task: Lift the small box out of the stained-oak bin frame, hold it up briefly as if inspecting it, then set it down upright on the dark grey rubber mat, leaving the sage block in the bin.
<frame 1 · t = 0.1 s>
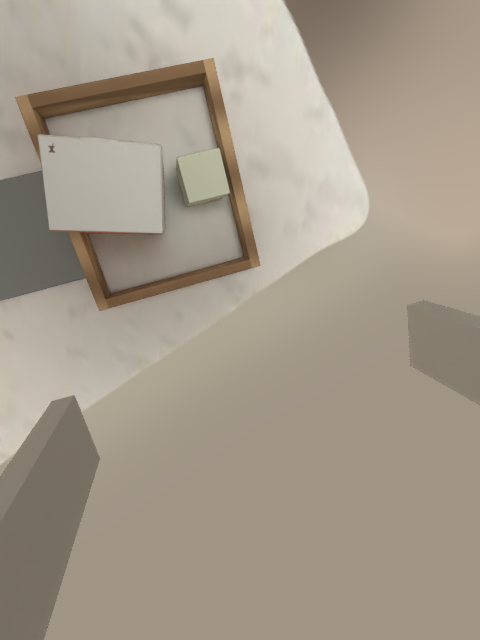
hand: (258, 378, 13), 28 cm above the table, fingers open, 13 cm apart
mat: (15, 239, 34), on the table
sage block: (199, 184, 36), resting in bin
small box: (127, 201, 36), resting in bin
bin: (154, 194, 36), on the table
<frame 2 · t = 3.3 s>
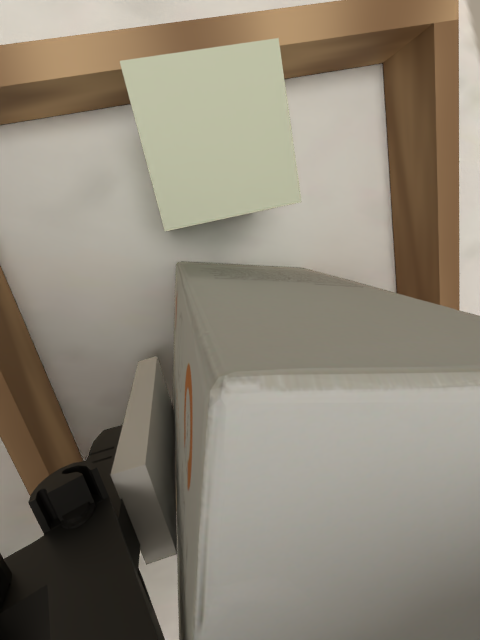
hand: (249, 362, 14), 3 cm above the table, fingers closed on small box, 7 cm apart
sage block: (200, 174, 14), resting in bin
small box: (237, 341, 17), resting in bin, touching gripper
bin: (225, 285, 16), on the table
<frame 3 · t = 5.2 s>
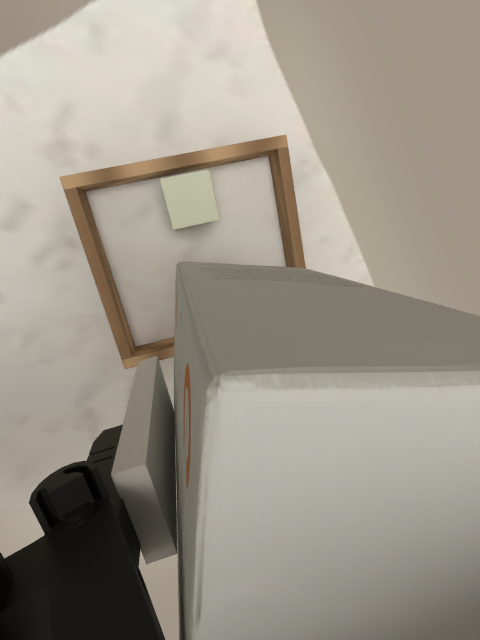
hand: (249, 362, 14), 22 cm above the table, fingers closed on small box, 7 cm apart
sage block: (187, 205, 33), resting in bin
small box: (237, 340, 17), point 19 cm above the table, touching gripper
bin: (199, 254, 34), on the table
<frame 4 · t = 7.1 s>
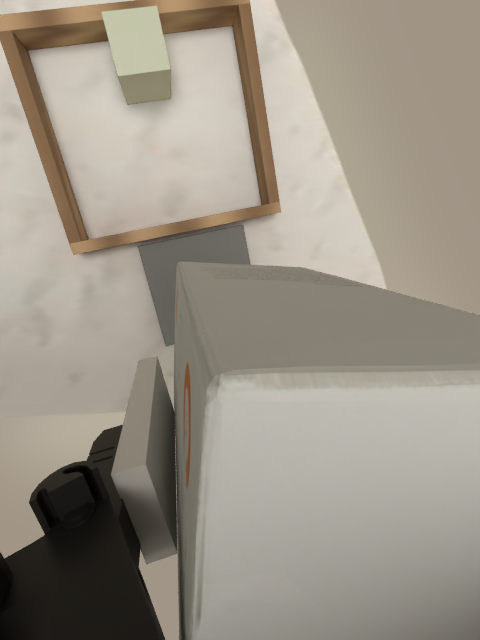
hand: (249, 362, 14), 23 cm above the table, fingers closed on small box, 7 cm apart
mat: (203, 286, 36), on the table
sage block: (143, 76, 30), resting in bin
small box: (237, 340, 17), point 20 cm above the table, touching gripper
bin: (157, 136, 32), on the table
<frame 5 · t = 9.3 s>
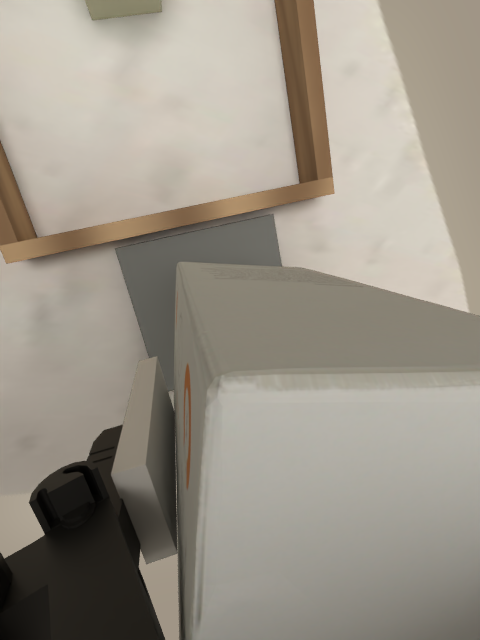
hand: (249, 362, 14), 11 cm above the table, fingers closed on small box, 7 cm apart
mat: (213, 305, 25), on the table
small box: (237, 340, 17), point 8 cm above the table, touching gripper
bin: (142, 75, 20), on the table
when the fingers open (5 cm above the table, at t = 11.0 s): small box drops 1 cm, resting on mat.
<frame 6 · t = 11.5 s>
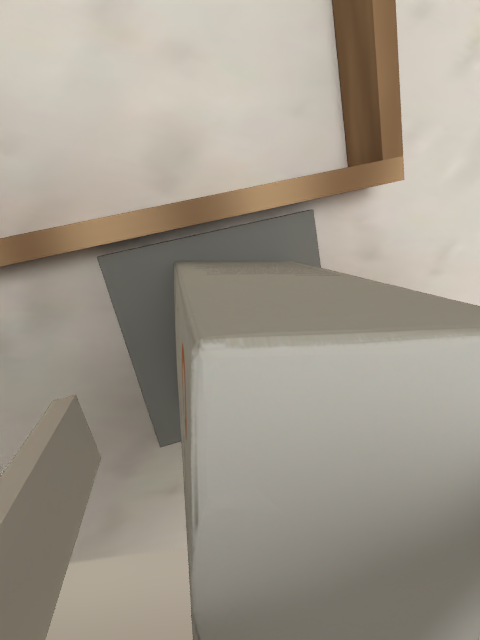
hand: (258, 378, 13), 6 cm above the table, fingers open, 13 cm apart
mat: (231, 331, 19), on the table
small box: (234, 332, 18), resting on mat
bin: (134, 9, 14), on the table
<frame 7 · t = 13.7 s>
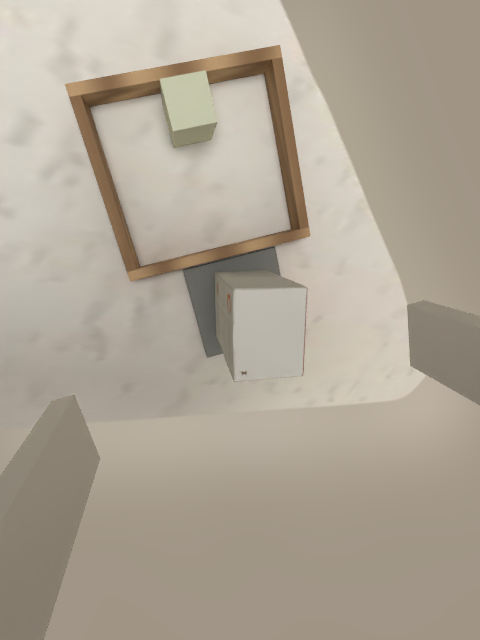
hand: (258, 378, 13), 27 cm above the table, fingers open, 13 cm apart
mat: (239, 302, 40), on the table
sage block: (187, 122, 34), resting in bin
small box: (241, 303, 40), resting on mat
bin: (199, 173, 36), on the table
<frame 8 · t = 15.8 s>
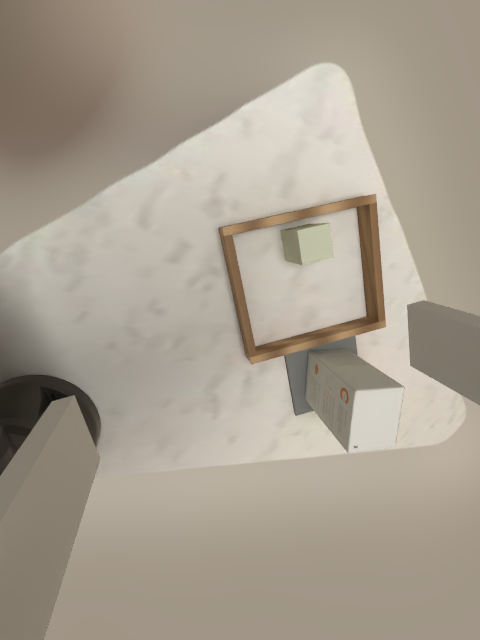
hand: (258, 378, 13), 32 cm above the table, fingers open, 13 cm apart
mat: (323, 372, 50), on the table
sage block: (297, 242, 44), resting in bin
small box: (325, 373, 50), resting on mat
bin: (302, 278, 46), on the table
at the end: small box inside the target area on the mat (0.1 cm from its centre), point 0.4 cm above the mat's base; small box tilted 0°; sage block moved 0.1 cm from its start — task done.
